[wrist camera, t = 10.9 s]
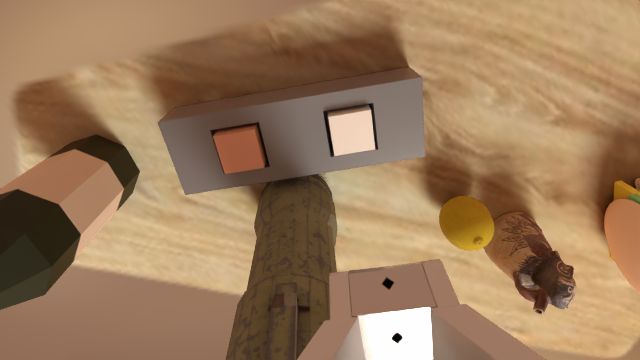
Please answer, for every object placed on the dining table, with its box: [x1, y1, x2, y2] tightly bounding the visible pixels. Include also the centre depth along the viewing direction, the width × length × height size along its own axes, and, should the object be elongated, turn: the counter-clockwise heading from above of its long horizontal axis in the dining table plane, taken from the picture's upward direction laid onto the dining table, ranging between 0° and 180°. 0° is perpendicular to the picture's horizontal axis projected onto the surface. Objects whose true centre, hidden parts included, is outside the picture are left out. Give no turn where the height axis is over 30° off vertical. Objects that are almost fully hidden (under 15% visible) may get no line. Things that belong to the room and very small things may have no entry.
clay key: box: [213, 122, 267, 174], centre depth 38 cm, size 4×4×4 cm
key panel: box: [158, 67, 425, 195], centre depth 39 cm, size 25×8×5 cm, turn 99°
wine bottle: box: [0, 135, 140, 310], centre depth 30 cm, size 8×8×30 cm
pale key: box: [327, 104, 375, 156], centre depth 37 cm, size 4×4×4 cm
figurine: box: [484, 212, 576, 314], centre depth 44 cm, size 7×7×12 cm
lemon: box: [439, 196, 494, 251], centre depth 43 cm, size 6×6×8 cm
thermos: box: [226, 174, 337, 360], centre depth 30 cm, size 9×12×35 cm
